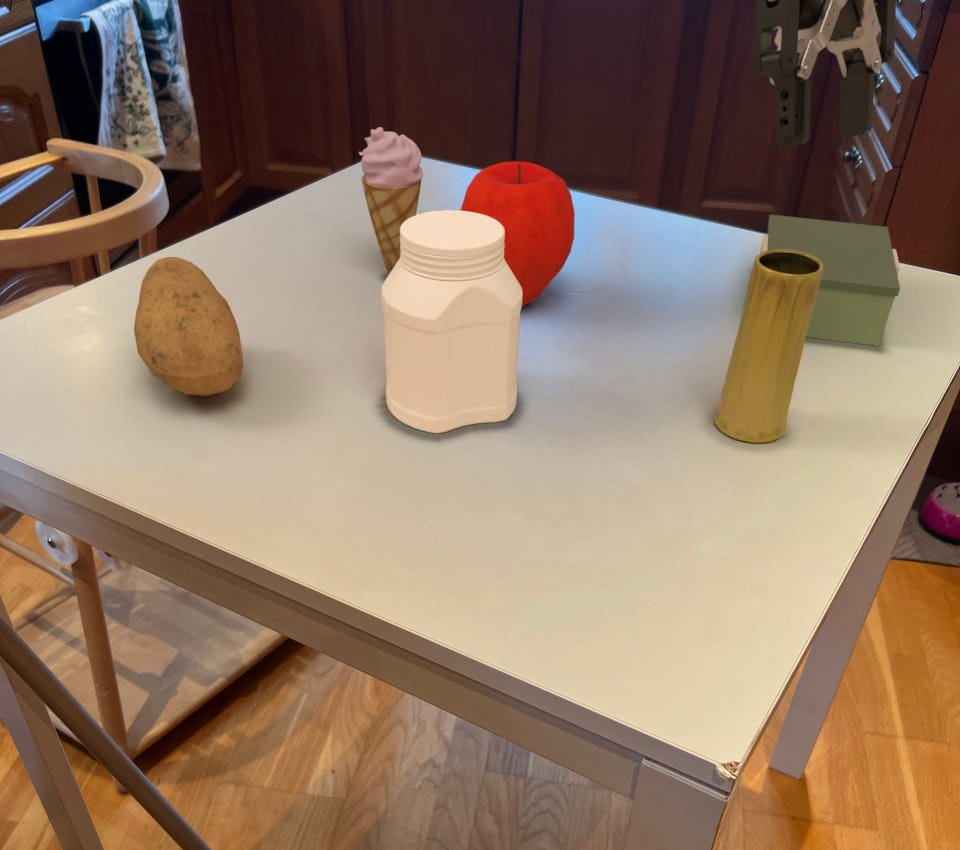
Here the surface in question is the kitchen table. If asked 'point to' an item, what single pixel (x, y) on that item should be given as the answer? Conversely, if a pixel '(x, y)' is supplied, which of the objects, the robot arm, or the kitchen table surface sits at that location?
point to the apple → (526, 219)
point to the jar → (451, 323)
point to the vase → (769, 345)
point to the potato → (187, 329)
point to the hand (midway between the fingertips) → (824, 140)
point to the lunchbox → (843, 275)
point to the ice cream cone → (390, 187)
